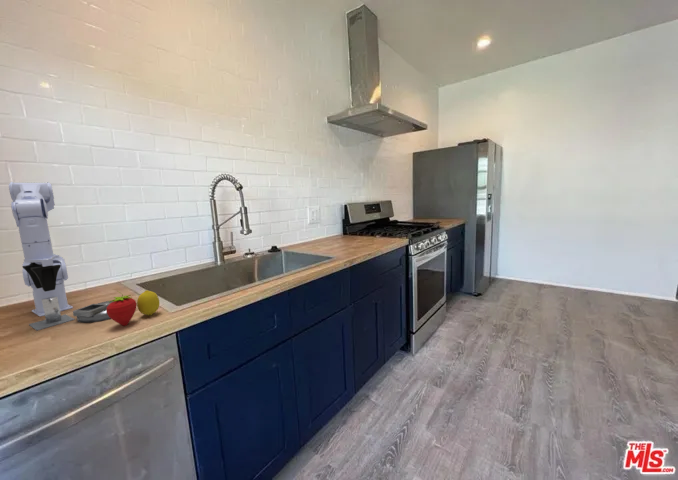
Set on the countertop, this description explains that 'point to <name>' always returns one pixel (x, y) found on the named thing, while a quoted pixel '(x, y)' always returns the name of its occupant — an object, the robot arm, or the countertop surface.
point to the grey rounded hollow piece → (92, 312)
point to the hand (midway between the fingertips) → (45, 289)
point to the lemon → (148, 303)
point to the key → (51, 309)
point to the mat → (44, 325)
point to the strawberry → (121, 309)
